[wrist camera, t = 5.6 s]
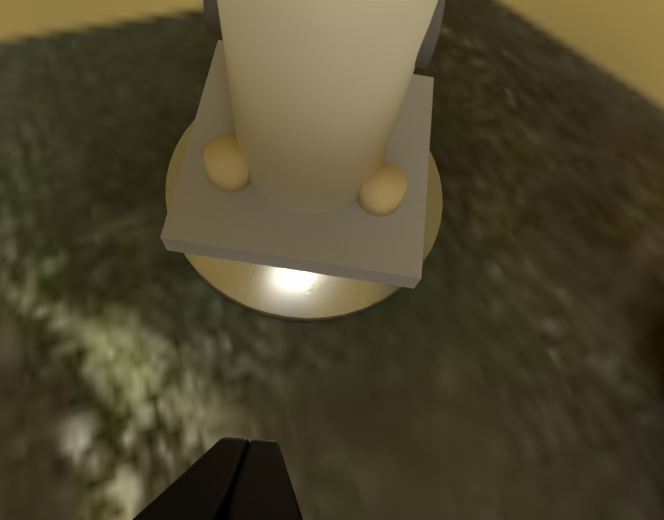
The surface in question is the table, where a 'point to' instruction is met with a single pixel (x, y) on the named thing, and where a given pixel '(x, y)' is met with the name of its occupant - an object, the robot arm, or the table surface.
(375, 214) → the yellow cylinder stand
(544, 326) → the table surface
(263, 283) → the levelling stand
